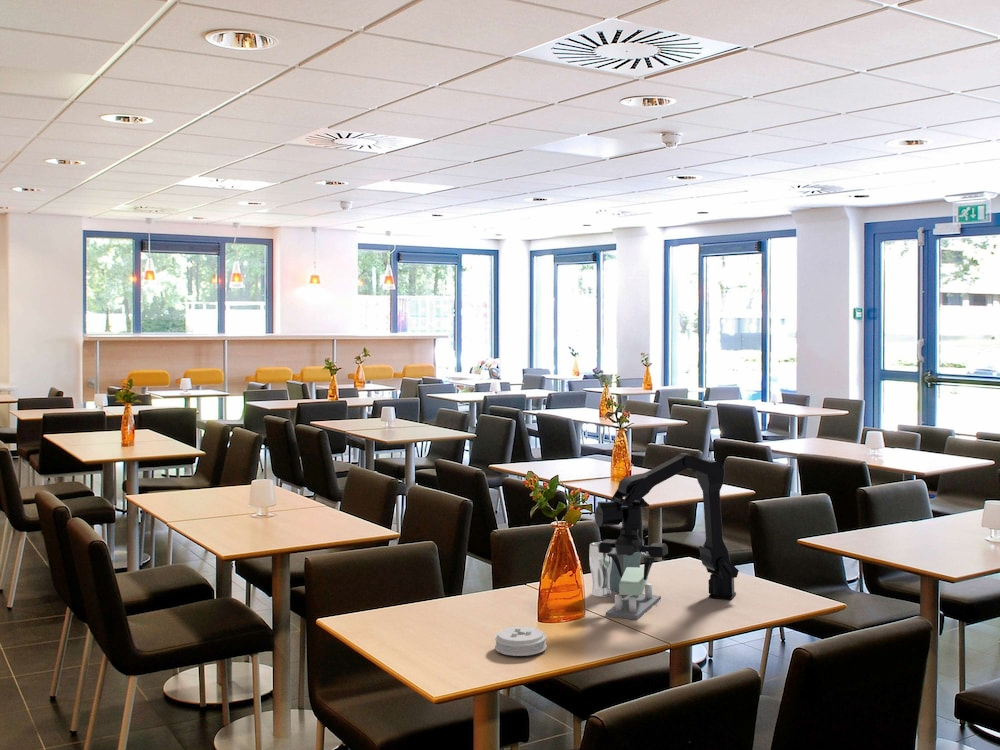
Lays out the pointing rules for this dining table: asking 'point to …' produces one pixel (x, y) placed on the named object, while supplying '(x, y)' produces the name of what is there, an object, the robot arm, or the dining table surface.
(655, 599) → the peg stand
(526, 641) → the lid
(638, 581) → the plank
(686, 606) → the dining table surface
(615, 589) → the teal cylinder
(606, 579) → the beer glass
